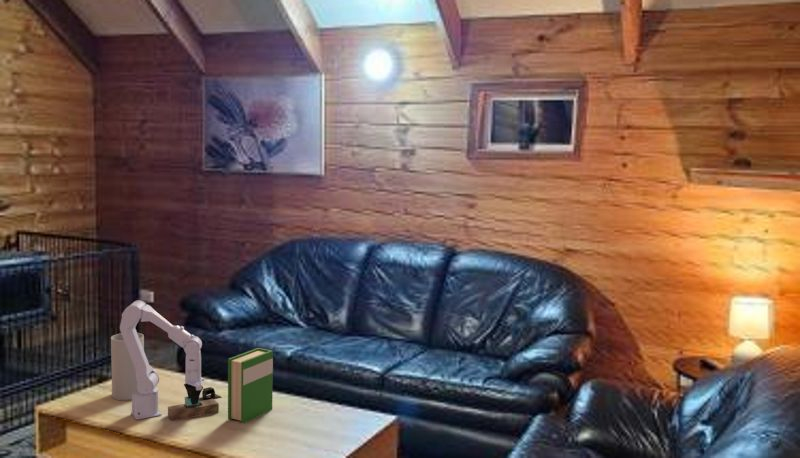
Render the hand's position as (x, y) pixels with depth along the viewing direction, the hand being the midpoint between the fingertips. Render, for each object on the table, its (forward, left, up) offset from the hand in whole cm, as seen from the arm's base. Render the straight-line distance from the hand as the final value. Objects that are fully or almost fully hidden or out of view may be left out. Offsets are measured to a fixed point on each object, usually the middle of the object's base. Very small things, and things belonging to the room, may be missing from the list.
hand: (193, 402), depth 277 cm
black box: (+11, +14, -5) cm, 18 cm away
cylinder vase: (-17, +32, -5) cm, 37 cm away
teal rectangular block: (0, 0, -3) cm, 4 cm away
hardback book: (+19, -11, -5) cm, 22 cm away
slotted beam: (0, 0, -4) cm, 4 cm away
